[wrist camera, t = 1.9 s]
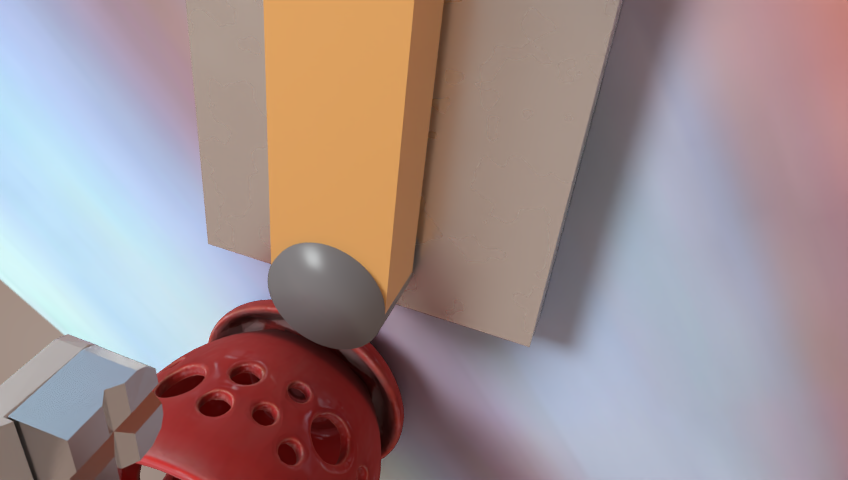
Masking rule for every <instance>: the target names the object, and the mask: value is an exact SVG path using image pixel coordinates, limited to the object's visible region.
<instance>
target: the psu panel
mask: <svg viewBox="0 0 848 480" xmlns="http://www.w3.org/2000/svg"><path fill="white" fill-rule="evenodd" d="M622 3H623V0H444V5H443V14H442V22H441V31H440V39H439V48H438V56H437V65H436V73H435V82H434V90H433V99H432V107H431V116H430V124H429V133H428V141H427V150H426V158H425V167H424V175H423V184H422V192H421V201H420V209H419V218H418V226H417V235H416V243H415V252H414V261H413V269H412V275H411V279H410V282H409V284H408V285H407V287H406V289H405V290H404V292H403V293H402V295H401V297H400V298H399V300H398V301H397V303H396V304H397V305H400V306H403V307H406V308H410V309H413V310H416V311H419V312H422V313H425V314H428V315H431V316H434V317H437V318H441V319H444V320H447V321H450V322H453V323H456V324H459V325H462V326H465V327H469V328H472V329H475V330H478V331H481V332H484V333H487V334H490V335H493V336H497V337H500V338H503V339H506V340H509V341H512V342H515V343H518V344H521V345H524V346H528V347H530V344H531V341H532V338H533V335H534V333H535V330H536V327H537V324H538V321H539V318H540V314H541V311H542V307H543V303H544V299H545V295H546V292H547V288H548V284H549V280H550V276H551V273H552V269H553V265H554V261H555V257H556V254H557V250H558V246H559V242H560V238H561V235H562V231H563V227H564V223H565V219H566V216H567V212H568V208H569V204H570V200H571V197H572V193H573V189H574V185H575V181H576V178H577V174H578V170H579V166H580V162H581V159H582V155H583V151H584V147H585V143H586V140H587V136H588V132H589V128H590V124H591V121H592V117H593V113H594V109H595V105H596V102H597V98H598V94H599V90H600V86H601V83H602V79H603V75H604V71H605V67H606V64H607V60H608V56H609V52H610V48H611V45H612V41H613V37H614V33H615V29H616V26H617V22H618V18H619V14H620V10H621V7H622ZM186 9H187V20H188V31H189V41H190V52H191V63H192V74H193V84H194V95H195V106H196V117H197V127H198V138H199V149H200V160H201V171H202V181H203V192H204V203H205V214H206V224H207V235H208V244H211V245H214V246H217V247H220V248H223V249H226V250H229V251H232V252H235V253H239V254H242V255H245V256H248V257H251V258H254V259H257V260H260V261H263V262H267V263H270V264H271V243H270V209H269V175H268V142H267V108H266V74H265V40H264V7H263V0H186Z"/></svg>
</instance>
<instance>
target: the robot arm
mask: <svg viewBox="0 0 848 480" xmlns="http://www.w3.org/2000/svg"><path fill="white" fill-rule="evenodd" d="M158 384H159V383H158V378H157V374H156V369H155V368H153V367H151V366H148V365H146V364H143V363H140V362H138V361H135V360H133V359H130V358H128V357H125V356H123V355H120V354H117V353H115V352H112V351H110V350H107V349H105V348H102V347H100V346H98V345H95V344H93V343H90V342H87V341H85V340H82V339H79V338H77V337H74V336H71V335H69V334H68V335H65V336H62V337H59V338H57V339H55V340H53V342H51V343H50V344H49V345H48V346H46V347H45V348H44V349H43V350H42V351H40V352H39V353H38V354H37V355H36V356H34V357H33V358H32V359H31V360H30V361H29V362H27V363H26V364H25V365H24V366H23V367H21V368H20V369H19V370H18V371H17V372H16V373H14V374H13V375H12V376H11V377H10V378H8V379H7V380H6V381H5V382H4V383H2V384H1V385H0V480H121V473H122V468H125V467H127V466H129V465H131V464H134V463H136V462H138V461H140V460H141V459H142V458H143V457H144V456H145V454H146V453H147V452H148V451H149V449H150V448H151V447H152V446H153V444H154V442H155V440H156V438H157V435H158V433H159V431H160V429H161V426H162V420H163V408H162V403H161V402H160V400H159V399H158V398H157V396H156V395H155V394H154V392H153V391H152V390H153V389H154V388H155V387H156V386H157V385H158Z"/></svg>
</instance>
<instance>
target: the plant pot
mask: <svg viewBox="0 0 848 480" xmlns="http://www.w3.org/2000/svg"><path fill="white" fill-rule="evenodd" d="M157 378H158V383H159V384H158V385H157V386H156V387H155V388H154V389H153V390H152V391H153V392H154V394H155V395H156V396H157V398H158V399H159V400H160V402H161V403H162V408H163V420H162V426H161V429H160V431H159V433H158V435H157V438H156V440H155V442H154V444H153V446H152V447H151V448H150V449H149V451H148V452H147V453H146V454H145V456H144V457H143V458H142V459H141V460H140V461H138V462H136V463H134V464H131V465H129V466H127V467H125V468H122V473H121V480H140V470H141V465H144V466H148V467H151V468H154V469H157V470H160V471H163V472H165V473H166V476H165V477H164V479H163V480H379V478H380V470H381V459H382V458H384V457H385V456H387V455H388V454H389V453H390V452H391V451H392V450H393V448H394V447H395V445H396V444H397V442H398V440H399V437H400V435H401V432H402V427H403V420H404V408H403V403H402V398H401V394H400V390H399V388H398V385H397V383H396V380H395V378H394V376H393V374H392V372H391V370H390V368H389V367H388V365H387V363H386V362H385V361H384V359H383V358H382V356H381V355H380V354H379V352H378V351H377V350H376V349H375V348H374V346H373V345H372V344H371V343H370V342H369V343H368V344H366V345H364V346H362V347H359V348H355V349H345V350H343V349H334V348H329V347H325V346H322V345H320V344H317V343H315V342H313V341H311V340H309V339H307V338H306V337H304V336H302V335H301V334H300V333H298V332H297V331H296V330H294V329H293V328H292V327H291V326H290V325H289V324H288V323H287V322H286V321H285V320H284V318H283V317H282V316H281V315H280V313H279V312H278V310H277V309H276V307H275V305H274V303H273V301H272V300H259V301H254V302H249V303H246V304H243V305H241V306H238V307H236V308H235V309H233V310H232V311H230V312H229V313H227V314H226V315H225V316H223V317H222V318H221V319H220V320H219V321H218V323H217V324H216V325H215V327H214V329H213V330H212V332H211V335H210V338H209V342H208V343H207V344H205V345H203V346H201V347H198V348H196V349H194V350H192V351H191V352H189V353H187V354H185V355H183V356H182V357H180V358H178V359H177V360H175V361H174V362H172V363H171V364H170V365H168V366H167V367H166V368H164V369H163V370H161V371H160V372H159V373H157Z"/></svg>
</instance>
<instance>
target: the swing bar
mask: <svg viewBox="0 0 848 480" xmlns="http://www.w3.org/2000/svg"><path fill="white" fill-rule="evenodd" d="M443 5H444V0H263V7H264V40H265V74H266V108H267V142H268V175H269V209H270V243H271V267H270V269H269V273H268V288H269V292H270V296H271V299H272V301H273V303H274V305H275V307H276V309H277V310H278V312H279V313H280V315H281V316H282V317H283V318H284V320H285V321H286V322H287V323H288V324H289V325H290V326H291V327H292V328H293V329H294V330H296V331H297V332H298V333H300V334H301V335H302V336H304V337H306V338H307V339H309V340H311V341H313V342H315V343H317V344H320V345H322V346H325V347H329V348H334V349H343V350H345V349H355V348H359V347H362V346H364V345H366V344H368V343H369V342H370V341H372V340H373V339H374V337H375V336H376V335H377V333H378V332H379V330H380V329H381V327H382V325H383V324H384V322H385V321H386V319H387V317H388V316H389V314H390V313H391V311H392V309H393V308H394V306H395V305H396V303H397V301H398V300H399V298H400V297H401V295H402V293H403V292H404V290H405V289H406V287H407V285H408V284H409V282H410V279H411V275H412V269H413V261H414V252H415V243H416V235H417V226H418V218H419V209H420V201H421V192H422V184H423V175H424V167H425V158H426V150H427V141H428V133H429V124H430V116H431V107H432V99H433V90H434V82H435V73H436V65H437V56H438V48H439V39H440V31H441V22H442V14H443Z"/></svg>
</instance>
